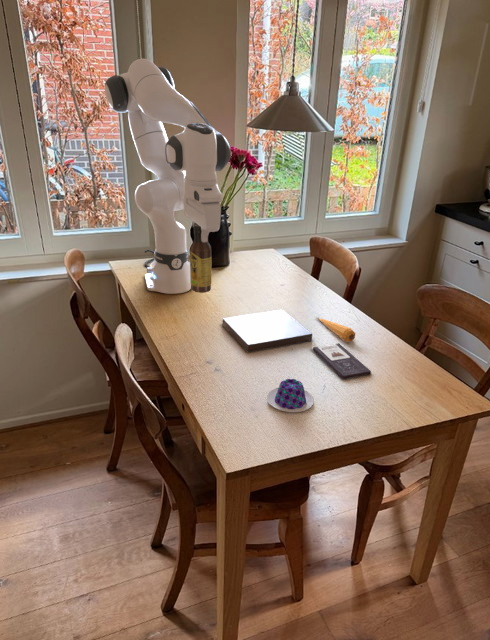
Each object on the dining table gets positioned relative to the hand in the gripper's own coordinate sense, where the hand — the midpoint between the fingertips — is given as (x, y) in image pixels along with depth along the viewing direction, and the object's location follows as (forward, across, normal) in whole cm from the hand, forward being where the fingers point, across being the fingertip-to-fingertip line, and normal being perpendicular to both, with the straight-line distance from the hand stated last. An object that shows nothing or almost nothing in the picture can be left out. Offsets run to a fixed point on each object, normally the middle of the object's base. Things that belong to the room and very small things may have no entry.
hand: (200, 239), depth 153 cm
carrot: (+30, +13, +41) cm, 53 cm away
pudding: (+30, +45, +7) cm, 55 cm away
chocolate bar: (+30, +32, +31) cm, 54 cm away
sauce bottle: (+16, 0, 0) cm, 16 cm away
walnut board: (+30, +7, +19) cm, 36 cm away
